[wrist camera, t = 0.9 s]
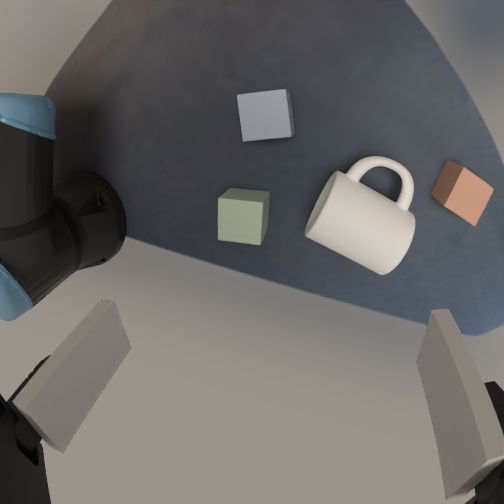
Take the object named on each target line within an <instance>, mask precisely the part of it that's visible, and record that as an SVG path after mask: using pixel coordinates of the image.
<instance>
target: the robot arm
mask: <svg viewBox="0 0 504 504" xmlns="http://www.w3.org/2000/svg"><path fill="white" fill-rule="evenodd" d="M55 115H56V108H55V104H54V102H53V101H52V100H51V99H50V98H48V97H46V96H41V95H29V94H14V93H0V319H2V320H6V321H12V320H15V319H16V318H18V317H19V316H21V315H22V314H24V313H25V312H26V311H28V310H31V309H32V308H33V307H34V306H35V305H36V304H37V303H38V302H39V301H40V300H42V299H43V298H44V297H45V296H46V295H48V294H49V293H50V292H51V291H52V290H53V289H54V288H56V287H57V286H58V285H59V284H60V283H62V282H63V281H64V280H65V279H66V278H68V277H69V276H70V275H71V274H72V273H74V272H75V271H77V270H81V269H85V268H88V267H93V266H97V265H100V264H103V263H105V262H107V261H108V260H109V259H111V258H112V257H113V256H115V255H116V254H117V253H118V251H119V250H120V249H121V247H122V245H123V242H124V239H125V234H126V220H125V214H124V210H123V207H122V204H121V202H120V200H119V197H118V196H117V194H116V192H115V191H114V189H113V188H112V187H111V186H110V184H109V183H108V182H107V181H106V180H104V179H103V178H102V177H100V176H99V175H97V174H95V173H92V172H88V171H80V172H76V173H73V174H71V175H68V176H66V177H64V178H63V179H61V180H60V181H59V182H58V183H57V184H56V185H55V186H54V187H53V156H54V141H55V140H56V135H55ZM130 349H131V345H130V343H129V340H128V337H127V335H126V332H125V330H124V327H123V324H122V321H121V319H120V316H119V313H118V310H117V307H116V304H115V302H114V301H108V300H101V301H100V302H99V303H98V304H97V305H96V306H95V307H94V308H93V309H92V310H91V312H89V314H88V315H87V316H86V317H85V318H84V319H83V320H82V321H81V322H80V323H79V324H78V325H77V326H76V328H75V329H74V330H73V331H72V332H71V333H70V334H69V335H68V336H67V338H66V339H65V340H64V341H63V342H62V343H61V344H60V345H59V346H58V348H57V349H56V350H55V351H54V352H53V353H52V354H51V355H49V356H48V357H46V358H45V359H44V360H42V361H41V362H40V363H39V364H38V365H37V366H36V367H35V368H34V371H32V372H31V373H30V374H29V375H28V378H26V379H25V380H24V381H23V383H22V384H21V385H20V386H19V387H18V389H17V390H16V391H15V392H14V394H13V395H12V396H11V397H10V398H9V400H8V401H7V402H6V401H5V400H4V398H3V397H2V396H1V394H0V504H51V500H50V495H49V489H48V483H47V477H46V470H45V462H44V453H43V447H42V445H41V443H40V441H41V439H42V438H43V440H44V441H45V442H46V443H47V444H48V445H49V446H50V447H52V448H54V449H55V450H57V451H59V452H61V453H64V451H65V449H66V447H67V446H68V445H69V443H70V441H71V439H72V438H73V436H74V434H75V433H76V432H77V430H78V428H79V427H80V425H81V424H82V422H83V421H84V419H85V417H86V416H87V414H88V413H89V411H90V410H91V408H92V407H93V405H94V403H95V402H96V400H97V399H98V397H99V396H100V394H101V393H102V391H103V390H104V388H105V387H106V385H107V384H108V382H109V381H110V379H111V378H112V376H113V374H114V373H115V372H116V370H117V369H118V367H119V366H120V364H121V362H122V361H123V360H124V358H125V357H126V355H127V354H128V352H129V351H130ZM416 363H417V366H418V369H419V373H420V376H421V380H422V384H423V387H424V391H425V395H426V398H427V403H428V407H429V411H430V415H431V420H432V424H433V429H434V433H435V438H436V443H437V448H438V453H439V458H440V465H441V470H442V477H443V483H444V490H445V497H446V500H448V499H452V498H456V497H460V496H464V495H467V494H468V493H469V492H470V491H471V490H472V489H473V488H475V494H476V495H475V496H474V497H472V498H471V499H470V500H469V501H467V502H466V503H465V504H504V391H503V390H502V389H501V388H500V387H499V386H498V384H497V383H496V382H495V381H492V382H487V383H484V382H483V380H482V377H481V375H480V373H479V370H478V368H477V366H476V364H475V362H474V359H473V357H472V355H471V353H470V351H469V349H468V346H467V344H466V342H465V340H464V338H463V336H462V334H461V332H460V330H459V328H458V326H457V324H456V322H455V321H454V319H453V317H452V315H451V313H450V311H449V309H440V310H431V314H430V318H429V322H428V325H427V329H426V332H425V336H424V339H423V342H422V345H421V349H420V352H419V355H418V358H417V361H416Z"/></svg>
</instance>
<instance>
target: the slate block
mask: <svg viewBox="0 0 504 504" xmlns="http://www.w3.org/2000/svg"><path fill="white" fill-rule="evenodd" d="M237 100H238V108H239V115H240V123H241V130H242V138H243V141H252V140H262V139H272V138H283V137H292V136H293V135H295V128H294V119H293V111H292V103H291V95H290V92H289V91H287V90H286V89H282V90H272V91H264V92H256V93H248V94H241V95H237Z"/></svg>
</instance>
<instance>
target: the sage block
mask: <svg viewBox="0 0 504 504" xmlns="http://www.w3.org/2000/svg"><path fill="white" fill-rule="evenodd" d="M269 202H270V192H268V191H259V190H248V189H238V188H230V189H228V190H227V191H226V192H225V193H224V194H223V195H221V196H220V197H219V198H218V240H224V241H232V242H239V243H247V244H255V245H261V243H262V241H263V239H264V236H265V234H266V232H267V230H268V216H269Z"/></svg>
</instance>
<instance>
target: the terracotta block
mask: <svg viewBox="0 0 504 504" xmlns="http://www.w3.org/2000/svg"><path fill="white" fill-rule="evenodd" d="M493 190H494V189H493V188H492V187H491V186H489V185H488V184H487V183H485V182H484V181H483V180H481V179H480V178H479V177H477V176H476V175H475V174H473V173H472V172H470V171H469V170H468V169H466V168H465V167H463V166H461V165H459V164H456V163H454V162H452V161H450V160H447V162H446V164H445V166H444V168H443V171H442V173H441V175H440V177H439V179H438V181H437V183H436V185H435V187H434V189H433V191H432V193H431V195H432V196H433V197H434V198H435V199H436V200H438V201H439V202H440V203H441V204H442V205H443V206H445V207H446V208H448V209H449V210H451V211H453V212H454V213H456V214H457V215H459V216H460V217H462V218H463V219H465V220H466V221H468V222H469V223H471V224H472V225H474V226H475V225H476V223H477V221H478V219H479V217H480V216H481V214H482V212H483V210H484V208H485V206H486V204H487V202H488V200H489V198H490V196H491V194H492V192H493Z"/></svg>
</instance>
